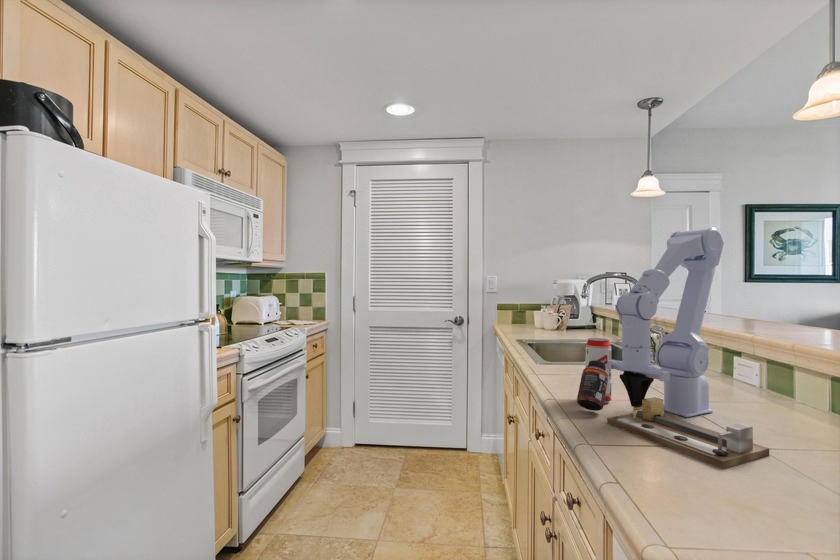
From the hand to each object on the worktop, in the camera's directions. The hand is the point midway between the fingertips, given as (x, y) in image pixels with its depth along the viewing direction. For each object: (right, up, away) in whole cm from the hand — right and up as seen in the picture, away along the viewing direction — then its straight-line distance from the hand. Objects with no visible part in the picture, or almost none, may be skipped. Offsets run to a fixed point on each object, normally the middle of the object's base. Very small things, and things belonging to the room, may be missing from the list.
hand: (636, 406), depth 93 cm
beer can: (-3, -3, +14) cm, 15 cm away
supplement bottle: (-9, -1, +4) cm, 10 cm away
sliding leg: (0, -2, -4) cm, 5 cm away
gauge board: (+3, -3, -11) cm, 12 cm away
